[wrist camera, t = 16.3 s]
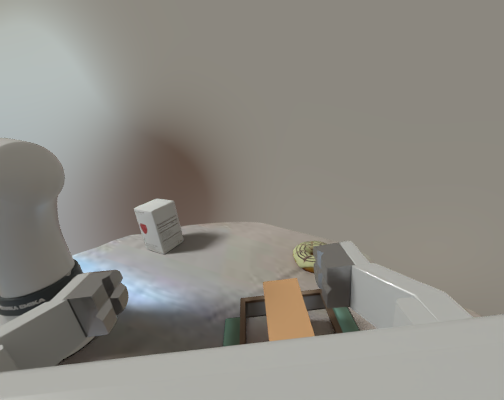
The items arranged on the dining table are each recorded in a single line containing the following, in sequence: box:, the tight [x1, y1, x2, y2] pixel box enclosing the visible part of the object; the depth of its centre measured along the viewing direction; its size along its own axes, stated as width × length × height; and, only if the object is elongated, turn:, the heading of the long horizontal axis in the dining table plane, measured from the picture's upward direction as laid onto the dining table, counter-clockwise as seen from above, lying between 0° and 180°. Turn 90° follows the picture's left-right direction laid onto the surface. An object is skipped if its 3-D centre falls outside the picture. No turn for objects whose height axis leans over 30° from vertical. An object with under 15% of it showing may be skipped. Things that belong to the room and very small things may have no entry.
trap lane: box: [223, 289, 359, 347], centre depth 34 cm, size 24×37×1 cm, turn 1°
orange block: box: [263, 278, 315, 341], centre depth 37 cm, size 6×14×10 cm, turn 1°
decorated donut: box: [293, 241, 326, 273], centre depth 61 cm, size 10×11×4 cm
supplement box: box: [134, 199, 184, 254], centre depth 76 cm, size 9×9×15 cm
